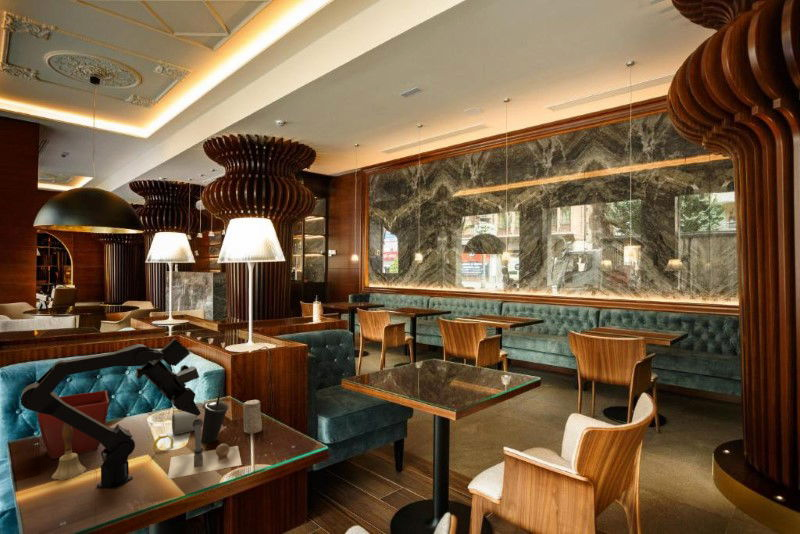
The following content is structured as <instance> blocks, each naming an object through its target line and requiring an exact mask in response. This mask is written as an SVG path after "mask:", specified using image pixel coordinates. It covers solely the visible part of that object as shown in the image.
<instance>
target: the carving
mask: <svg viewBox="0 0 800 534" xmlns="http://www.w3.org/2000/svg"><path fill="white" fill-rule="evenodd" d="M242 406H243V407H242V408H243V409H242V412H243V414H242V415H243V431H244V433H246V434H249V435H250V434H256V433H259V432H261V431H262V430H263V427H262V426H263V425H262V414H261V412H262V411H261V401H260V400H259V399H252V400H246V401H245V402H244V403H243V404H242Z"/></svg>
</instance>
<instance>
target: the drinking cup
mask: <svg viewBox="0 0 800 534" xmlns="http://www.w3.org/2000/svg"><path fill="white" fill-rule="evenodd" d="M222 390H223V389H222V388H219V391H218V396H217V400H213V401H208V402H206V403H205V404H204V408H205V409H204V416H203V425H202V429H201V444H213V443H214V442H216V441H218V438H219V434H220V432H221V429H222V425H223V423H224V420H225V416H226V414H227V411H228V410H229V405H228V404H227V403H225V402H223V401H221V400H220V399H221V395H222Z"/></svg>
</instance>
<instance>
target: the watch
mask: <svg viewBox="0 0 800 534" xmlns="http://www.w3.org/2000/svg"><path fill="white" fill-rule="evenodd" d="M166 438H169V439H170V446H171V447H173V446H174V439H173V437H172V436H170V435H169V433H161V434H159V435H158V437H157V438H155V440H154V442H153V446H152V448H153V450H154V452H156V451H158V450H157V444H158V442H159V441H160V440H161V439H166Z"/></svg>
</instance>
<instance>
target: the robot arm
mask: <svg viewBox="0 0 800 534" xmlns="http://www.w3.org/2000/svg"><path fill="white" fill-rule="evenodd" d="M190 355H191V352H190V351H189V350H188V349H187V347H186V346H184V345H182V343H180V341H178V340H177V339H176V338H173V339H172V340H170V342H169V343H167V344H166V345H165V346H164V347H163V348H161V349H160V350H159V349H157V348H155V349H153V348H149V347H147V346H146V345H144V344H142V343H136V344H133V345H130V346H125V347H124V348H121V349H119V350H116V351H114V352H108V353H107V352H106V353H101V354H96V355H90V356H85V357H78V358H70V359H65V360H64V359H60V360H57V361H56V362H54V364H53V365H52V366H51V367H50V368H49V369H48V370H47V371H46V372H45V373H44V374H42V375H41V377H39V379H38V380H36V382H34V383H31V384H29V385H27V386H26V387H25V388H24V389H23V390H22V392H21V396H20V404H21V406H22V407H23V408H24V409H25V410H28V411H33V412H35V413H37V412H38V413H41V414H46V415H51V416H54V417H55V418H57V419H59V420H61V421H63V422H65V423H66V424H68V425H70V426H72V427H74V428H76V429H77V430H79V431H81V432H83V433H85V434H86V435H88V436H90V437H92V438H94V439H96V440H97V441H99V442H100V445H102V446H103V447H104V449H103V450H102V451H100V456H101V459H102V461H103V462H102V464H101V465H100V482H99V483H97V484H96V485H95V487H97V488H103V489H117V488H119V487H121V486H122V485H124V484H126V483H127V482H128V481H130V480H132V479H133V478H134V477H133V476H132V475H129V474H130V473H129V468H130V467H129V466H130V465H129V457H130V455H131V454H132V453H133V452H134V451H135V448H136V443H135V441H134V438H133V434H132V433H131V431H130V430H129V429H127V428H123V427H122V426H121V425H120V424H118V423H117V424H116V426H115V427H111V426H110V427H109V426H108V425H106V424H105V425H104V424H102V423H100V422H98V421H97V420H95V419H93V418H91V417H90V416H88V415H86V414H84V413H83V412H81V411H79V410H77V409H76V408H74V407H72V406H70V405H69V404H67V403H65V402H63V401H62V400H61V399H60V398H59V397H60V396H59V395H57V394H56V393H55V392H54V390H56V389H57V387H58V386H59V384H60V383H61V382H62V381H63V380H64V379H65V377H67V376H71V375H74V374H75V375H76V374H81V373H85V372H86V373H87V372H92V371H98V370H103V369H107V368H112V367H136V369H135V370H136V371H135V378H137V379H141V378H142V377H143V376H144V377H146V379H148V380H149V381H150V383H152V384H153V385H154V386H155V387H156V388H157V389H158V391H160V392H161V394H162V395H163V396H164V397H165V398H166V399H168V401H171V404H172V406H174V407H175V409H177V410H178V411H182V412H188V413H191V414H194V415H197V417H199V416H200V415H201V414H202V413H201V410H200V409H199V407H198V406H197V404H196V402H195V397H196V393H195V392H194V391H193V390H192V389H191V388H190V387H186V386H187V383H190V382H191V381H193V380H197V379H199V378H200V375H199V372H198V370H197V367H195V366H193V365H190V366H189V365H187V364H184V365H181V366H180V370H179V371H178V372H177V373H174V371H171V370H170V369H169V368H168V367H167V366H169V367H171V366H173V367H176V366H177V365H179V364H180V363H181V362H182V361H183V360H185V359H186V358H187V357H188V356H190ZM162 360H163V361H164V362H162ZM166 364H167V365H166Z"/></svg>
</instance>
